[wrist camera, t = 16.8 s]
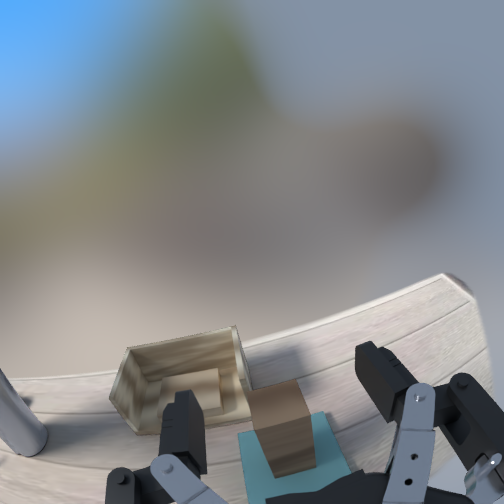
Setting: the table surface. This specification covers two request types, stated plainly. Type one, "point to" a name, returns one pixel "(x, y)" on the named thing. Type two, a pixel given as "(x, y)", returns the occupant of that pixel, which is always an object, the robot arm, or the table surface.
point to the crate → (184, 380)
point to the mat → (266, 486)
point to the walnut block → (283, 428)
